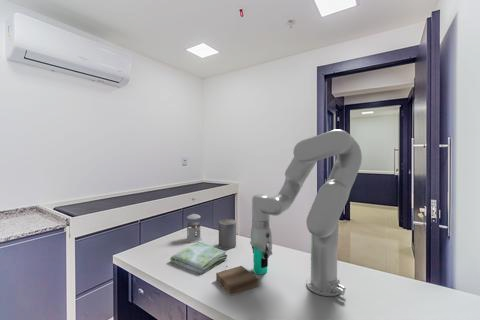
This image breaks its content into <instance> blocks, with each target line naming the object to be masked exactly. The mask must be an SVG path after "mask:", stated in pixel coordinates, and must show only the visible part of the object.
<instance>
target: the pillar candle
mask: <svg viewBox="0 0 480 320" xmlns="http://www.w3.org/2000/svg"><path fill="white" fill-rule="evenodd" d="M218 247H219V248H220V249H221V250H231V249H234V248H236V247H237V221H236V220H235V219H233V218H232V219H231V218H225V219H220V220H218Z"/></svg>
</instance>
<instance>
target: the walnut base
mask: <svg viewBox="0 0 480 320" xmlns="http://www.w3.org/2000/svg"><path fill="white" fill-rule="evenodd" d="M215 278H216V279H215V281H216V282H218V284H219V285H220V286H221V287H222V288H223V289H224V290H225V291H226V292H227V294H229V295H230V296H233V295H236V294H239V293H241V292H244V291H247V290H250V289H252V288H255V287H258V286H259V278H258V277H257V276H256V275H255V274H253V273H252V272H250V271H249V270H248V269H246V268H245V267H244V266H242V265H239V266H236V267H233V268H229V269H225V270H222V271H219V272H216V274H215Z"/></svg>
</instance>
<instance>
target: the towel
mask: <svg viewBox="0 0 480 320" xmlns="http://www.w3.org/2000/svg"><path fill="white" fill-rule="evenodd" d="M227 257H228V255H227V253H226V251H225V250H224V249H221V248H220V249H219V248H217V247H215V246H212V245H209V244H207V243H204V242H201V241H200V242H197V243H193V244H192V245H190V246H188V247H187V248H184V249H181V250H180V251H178V252H176V253H174V254H173V255H172V256H170V262H171V263H172V264H176V265H177V266H180V267H182V268H185V269H187V270H189V271H192V272H195V273H197V274H201V275H202V274H204V273H206V272H208V271H209V270H210V269H213V268H214V267H216V266H217V265H218V264H220V263H222V262H224V261H226V260H227Z"/></svg>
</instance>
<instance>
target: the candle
mask: <svg viewBox="0 0 480 320" xmlns="http://www.w3.org/2000/svg"><path fill="white" fill-rule="evenodd" d="M265 250H266V249H265ZM265 254H266V252H265V253H264V255H265ZM253 258H254V262H253V272H254V273H255V274H257V275H264V274H266V273H268V266H267V267H265V268H261V258H262V252H261V251H260V250H259V249H256V248H255V247H254V253H253Z"/></svg>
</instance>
